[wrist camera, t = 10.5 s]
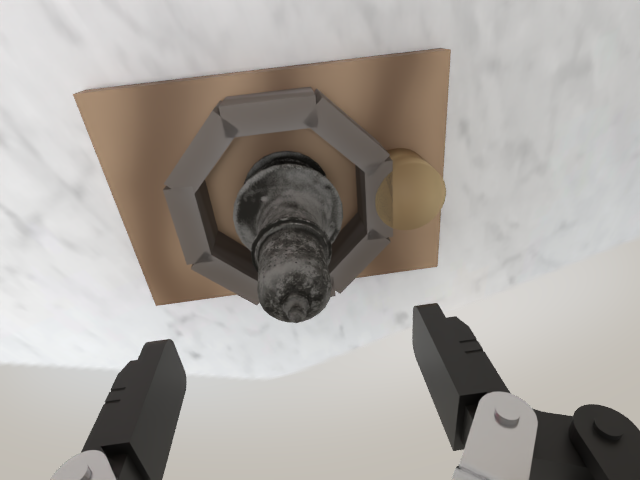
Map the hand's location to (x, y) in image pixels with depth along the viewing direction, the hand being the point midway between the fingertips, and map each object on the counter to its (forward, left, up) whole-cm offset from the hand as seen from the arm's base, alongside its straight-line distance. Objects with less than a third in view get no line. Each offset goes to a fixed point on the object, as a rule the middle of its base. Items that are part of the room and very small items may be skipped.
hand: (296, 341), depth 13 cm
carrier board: (0, 0, -14) cm, 14 cm away
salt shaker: (0, 0, -13) cm, 13 cm away
